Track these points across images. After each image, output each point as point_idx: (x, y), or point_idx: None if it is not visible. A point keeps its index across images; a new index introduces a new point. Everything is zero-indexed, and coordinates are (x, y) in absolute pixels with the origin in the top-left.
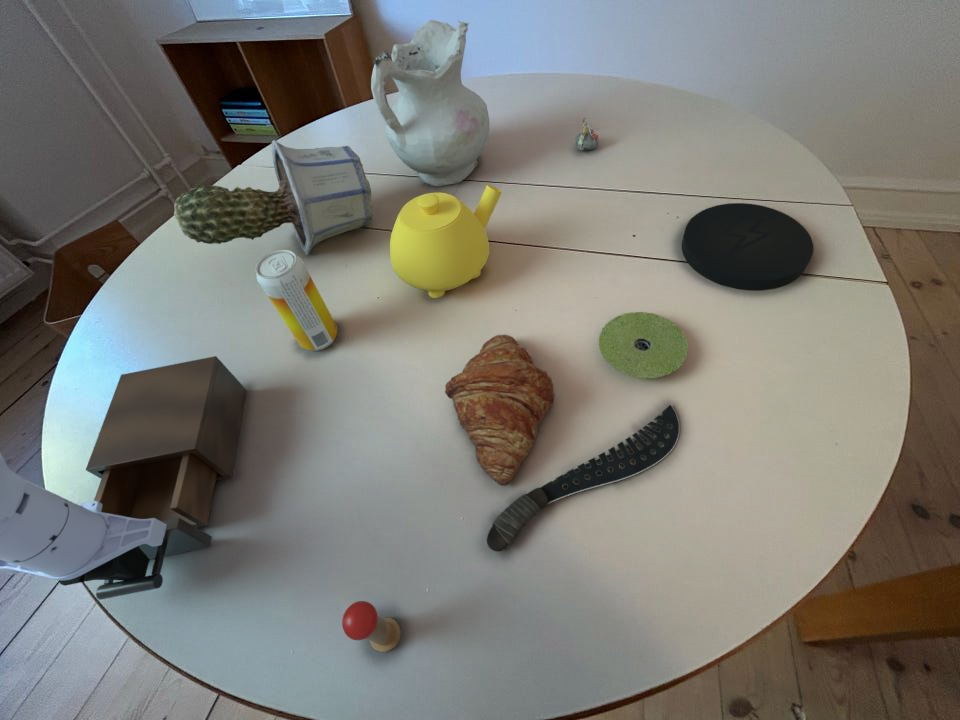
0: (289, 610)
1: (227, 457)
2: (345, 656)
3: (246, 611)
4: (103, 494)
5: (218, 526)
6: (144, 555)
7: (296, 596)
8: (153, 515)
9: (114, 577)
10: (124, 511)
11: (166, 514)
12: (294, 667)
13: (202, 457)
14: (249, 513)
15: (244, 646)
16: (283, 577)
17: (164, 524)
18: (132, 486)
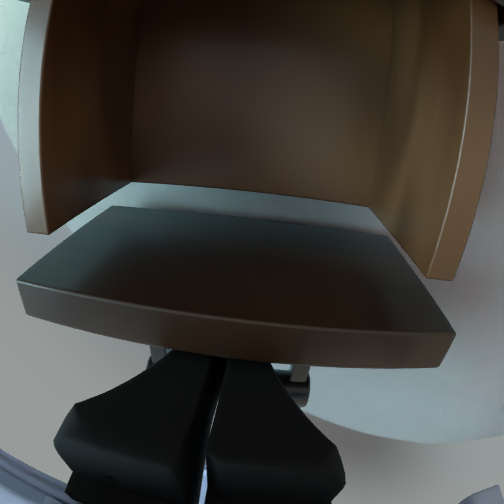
0: (459, 376)
1: None
2: (481, 413)
3: (408, 371)
4: (45, 85)
5: None
6: None
7: (474, 362)
8: (210, 124)
9: (212, 418)
10: (117, 106)
11: (259, 134)
12: (436, 421)
13: (502, 34)
14: None
15: (392, 404)
16: (472, 336)
17: (499, 495)
18: (127, 14)
